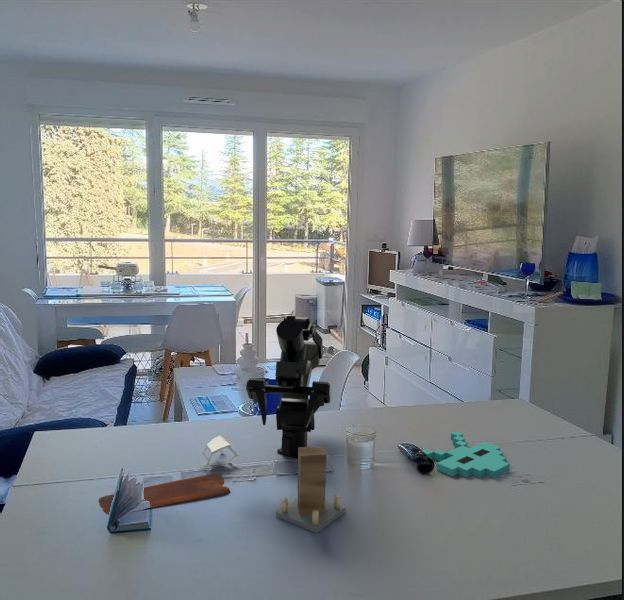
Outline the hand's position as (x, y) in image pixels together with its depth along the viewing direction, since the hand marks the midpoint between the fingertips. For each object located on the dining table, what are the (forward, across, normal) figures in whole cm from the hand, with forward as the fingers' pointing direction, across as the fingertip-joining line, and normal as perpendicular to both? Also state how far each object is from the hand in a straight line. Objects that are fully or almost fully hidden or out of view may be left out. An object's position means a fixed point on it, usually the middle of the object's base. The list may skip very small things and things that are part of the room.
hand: (284, 425), depth 132 cm
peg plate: (+18, +7, +1) cm, 20 cm away
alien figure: (-3, +42, +23) cm, 48 cm away
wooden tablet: (+16, -24, +4) cm, 29 cm away
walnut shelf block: (+17, +7, 0) cm, 19 cm away
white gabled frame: (+3, -17, +17) cm, 24 cm away
